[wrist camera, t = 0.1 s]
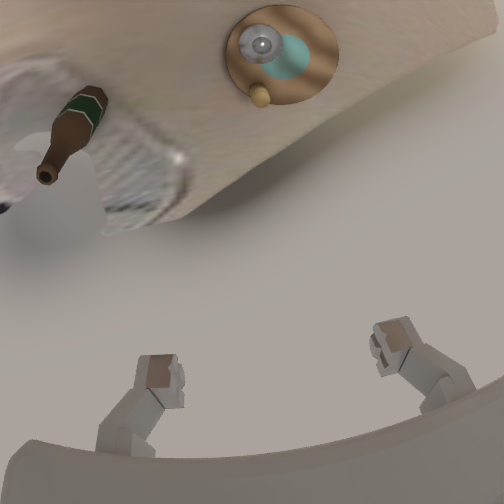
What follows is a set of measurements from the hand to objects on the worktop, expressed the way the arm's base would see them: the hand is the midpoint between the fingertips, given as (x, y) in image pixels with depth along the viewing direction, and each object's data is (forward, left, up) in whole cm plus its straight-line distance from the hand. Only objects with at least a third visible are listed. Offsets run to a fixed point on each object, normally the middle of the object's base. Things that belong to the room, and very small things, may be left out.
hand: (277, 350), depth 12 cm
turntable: (-3, +11, -50) cm, 52 cm away
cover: (-3, +5, -48) cm, 49 cm away
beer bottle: (+23, -16, -52) cm, 59 cm away
